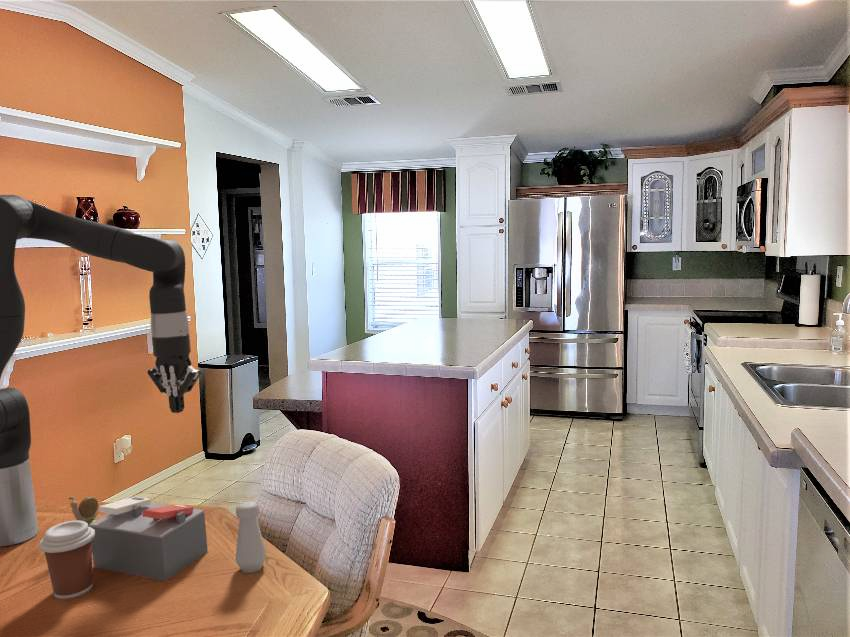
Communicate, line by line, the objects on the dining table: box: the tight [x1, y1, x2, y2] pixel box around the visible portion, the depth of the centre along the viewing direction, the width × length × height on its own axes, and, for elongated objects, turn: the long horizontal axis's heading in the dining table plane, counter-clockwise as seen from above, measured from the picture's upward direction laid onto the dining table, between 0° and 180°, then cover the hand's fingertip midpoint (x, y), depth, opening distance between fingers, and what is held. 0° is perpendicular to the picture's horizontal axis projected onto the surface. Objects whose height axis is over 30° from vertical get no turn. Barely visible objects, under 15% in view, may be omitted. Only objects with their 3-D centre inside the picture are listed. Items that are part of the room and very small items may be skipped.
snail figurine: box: [68, 496, 99, 527], centre depth 139 cm, size 5×6×12 cm
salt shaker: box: [235, 501, 267, 574], centre depth 126 cm, size 6×6×13 cm
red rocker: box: [143, 504, 194, 519], centre depth 129 cm, size 4×9×1 cm, turn 159°
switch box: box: [89, 502, 209, 582], centre depth 132 cm, size 18×12×11 cm, turn 69°
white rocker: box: [98, 496, 152, 515], centre depth 133 cm, size 4×9×1 cm, turn 159°
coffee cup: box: [38, 520, 95, 600], centre depth 121 cm, size 9×9×12 cm
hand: (177, 412), depth 142 cm, fingers closed
